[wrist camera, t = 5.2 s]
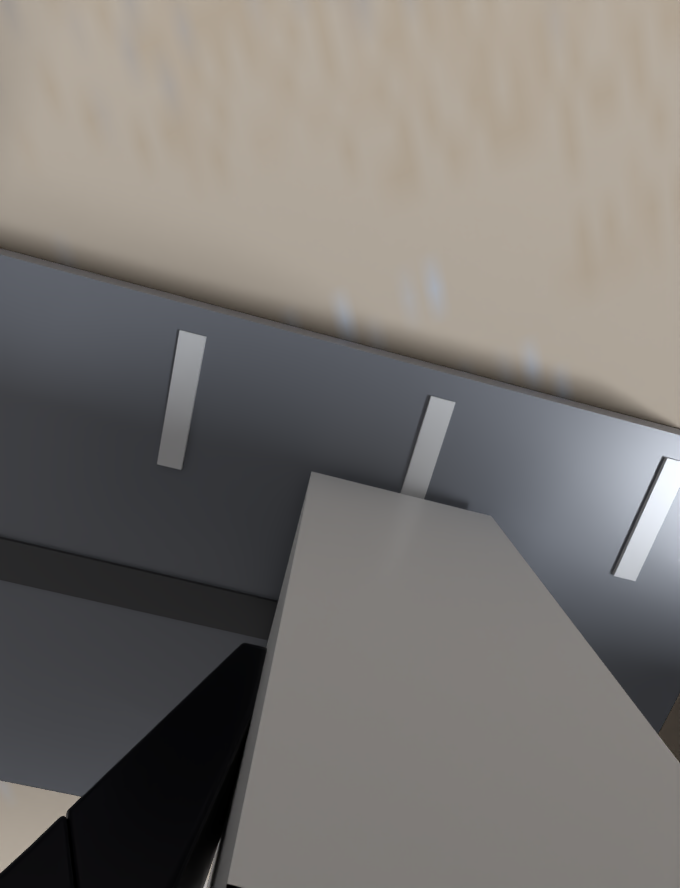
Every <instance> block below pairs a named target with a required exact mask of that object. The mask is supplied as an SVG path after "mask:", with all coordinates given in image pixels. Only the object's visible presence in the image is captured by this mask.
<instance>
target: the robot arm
mask: <svg viewBox="0 0 680 888" xmlns="http://www.w3.org/2000/svg"><path fill="white" fill-rule="evenodd" d="M266 652H267V648H266V647H263V646H258V645H254V644H250V643H242V644H241V645H240V646H238V647H237V648H236V649H235V650H234V651H233V652H232V653H231V654H230V655H229V656H228V657H227V658H226V659H225V660H224V661H223V662H222V663H221V664H220V665H219V666H218V667H217V668H215V669H214V670H213V671H212V672H211V673H210V674H209V675H208V676H207V677H206V678H205V679H204V680H203V681H202V682H201V683H200V684H199V685H198V686H197V687H196V688H195V689H194V690H193V691H191V692H190V693H189V694H188V695H187V696H186V697H185V698H184V699H183V700H182V701H181V702H180V703H179V704H178V705H177V706H176V707H175V708H174V709H173V710H172V711H171V712H170V713H169V714H168V715H166V716H165V717H164V718H163V719H162V720H161V721H160V722H159V723H158V724H157V725H156V726H155V727H154V728H153V729H152V730H151V731H150V732H149V733H148V734H147V735H146V736H145V737H144V738H142V739H141V740H140V741H139V742H138V743H137V744H136V745H135V746H134V747H133V748H132V749H131V750H130V751H129V752H128V753H127V754H126V755H125V756H124V757H123V758H122V759H121V760H120V761H119V762H117V763H116V764H115V765H114V766H113V767H112V768H111V769H110V770H109V771H108V772H107V773H106V774H105V775H104V776H103V777H102V778H101V779H100V780H99V781H98V782H97V783H96V784H95V785H94V786H92V787H91V788H90V789H89V790H88V791H87V792H86V793H85V794H84V795H83V796H82V797H81V798H80V799H79V800H78V801H77V802H76V803H75V804H74V805H73V806H72V807H71V808H70V809H69V810H68V811H67V813H66V817H65V816H62V817H60V818H59V819H58V820H57V821H56V822H54V823H53V824H52V825H51V826H50V827H49V828H48V829H47V830H46V831H45V832H44V833H43V834H42V835H41V836H40V837H39V838H38V839H37V840H36V841H35V842H34V843H33V844H32V845H31V846H30V847H28V848H27V849H26V850H25V851H24V852H23V853H22V854H21V855H20V856H19V857H18V858H16V859H15V860H14V861H13V862H12V863H11V864H10V865H9V866H8V867H7V868H6V869H4V870H3V871H2V872H1V873H0V888H203V887H204V884H205V881H206V878H207V875H208V873H209V870H210V867H211V864H212V861H213V858H214V855H215V853H216V850H217V847H218V844H219V841H220V838H221V835H222V831H223V827H224V823H225V819H226V816H227V812H228V808H229V804H230V800H231V796H232V792H233V789H234V785H235V781H236V777H237V773H238V769H239V765H240V761H241V758H242V754H243V750H244V746H245V742H246V738H247V734H248V731H249V727H250V723H251V719H252V715H253V710H254V706H255V701H256V697H257V692H258V688H259V683H260V679H261V674H262V670H263V665H264V661H265V656H266Z"/></svg>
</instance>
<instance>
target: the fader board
mask: <svg viewBox="0 0 680 888" xmlns="http://www.w3.org/2000/svg"><path fill="white" fill-rule="evenodd" d="M311 472H316V473H320V474H324V475H328V476H332V477H336V478H340V479H344V480H348V481H352V482H356V483H360V484H364V485H368V486H373V487H377V488H381V489H385V490H389V491H393V492H397V493H401V494H405V495H409V496H413V497H417V498H421V499H425V500H429V501H433V502H437V503H441V504H445V505H449V506H453V507H457V508H461V509H465V510H469V511H473V512H477V513H481V514H485V515H489V516H492V518H493V519H494V520H495V522H496V523H497V524H498V526H499V527H500V528H501V530H502V531H503V532H504V533H505V535H506V536H507V537H508V539H509V540H510V541H511V543H512V544H513V545H514V547H515V548H516V549H517V550H518V552H519V553H520V554H521V556H522V557H523V558H524V560H525V561H526V562H527V564H528V565H529V566H530V568H531V569H532V570H533V571H534V573H535V574H536V575H537V577H538V578H539V579H540V581H541V582H542V583H543V585H544V586H545V587H546V588H547V590H548V591H549V592H550V594H551V595H552V596H553V598H554V599H555V600H556V602H557V603H558V604H559V606H560V607H561V608H562V609H563V611H564V612H565V613H566V615H567V616H568V617H569V619H570V620H571V621H572V623H573V624H574V625H575V627H576V628H577V629H578V630H579V632H580V633H581V634H582V636H583V637H584V638H585V640H586V641H587V642H588V644H589V645H590V646H591V647H592V649H593V650H594V651H595V653H596V654H597V655H598V657H599V658H600V659H601V661H602V662H603V663H604V665H605V666H606V667H607V668H608V670H609V671H610V672H611V674H612V675H613V676H614V678H615V679H616V680H617V682H618V683H619V684H620V686H621V687H622V688H623V689H624V691H625V692H626V693H627V695H628V696H629V697H630V699H631V700H632V701H633V703H634V704H635V705H636V706H637V708H638V709H639V710H640V712H641V713H642V714H643V716H644V717H645V718H646V720H647V721H648V722H649V724H650V725H651V726H652V727H653V729H654V730H655V731H656V733H657V734H658V733H659V731H660V729H661V727H662V726H663V724H664V722H665V720H666V718H667V716H668V714H669V712H670V711H671V709H672V707H673V705H674V703H675V701H676V699H677V697H678V695H679V694H680V429H677V428H673V427H669V426H665V425H662V424H658V423H654V422H650V421H647V420H643V419H639V418H635V417H632V416H628V415H624V414H620V413H617V412H613V411H609V410H605V409H602V408H598V407H594V406H590V405H587V404H583V403H579V402H575V401H572V400H568V399H564V398H560V397H557V396H553V395H549V394H546V393H542V392H538V391H534V390H531V389H527V388H523V387H519V386H516V385H512V384H508V383H504V382H501V381H497V380H493V379H489V378H486V377H482V376H478V375H474V374H471V373H467V372H463V371H459V370H456V369H452V368H448V367H444V366H441V365H437V364H433V363H429V362H426V361H422V360H418V359H414V358H411V357H407V356H403V355H399V354H396V353H392V352H388V351H384V350H381V349H377V348H373V347H369V346H366V345H362V344H358V343H354V342H351V341H347V340H343V339H339V338H336V337H332V336H328V335H324V334H321V333H317V332H313V331H309V330H306V329H302V328H298V327H294V326H291V325H287V324H283V323H279V322H276V321H272V320H268V319H264V318H261V317H257V316H253V315H249V314H246V313H242V312H238V311H234V310H231V309H227V308H223V307H219V306H216V305H212V304H208V303H204V302H201V301H197V300H193V299H189V298H186V297H182V296H178V295H174V294H171V293H167V292H163V291H159V290H156V289H152V288H148V287H144V286H141V285H137V284H133V283H129V282H126V281H122V280H118V279H114V278H111V277H107V276H103V275H99V274H96V273H92V272H88V271H84V270H81V269H77V268H73V267H69V266H66V265H62V264H58V263H54V262H51V261H47V260H43V259H39V258H36V257H32V256H28V255H24V254H21V253H17V252H13V251H9V250H6V249H2V248H0V780H1V781H6V782H11V783H16V784H21V785H26V786H31V787H36V788H41V789H46V790H51V791H56V792H61V793H66V794H71V795H76V796H81V797H82V796H83V795H84V794H85V793H86V792H87V791H88V790H89V789H90V788H91V787H92V786H94V785H95V784H96V783H97V782H98V781H99V780H100V779H101V778H102V777H103V776H104V775H105V774H106V773H107V772H108V771H109V770H110V769H111V768H112V767H113V766H114V765H115V764H116V763H117V762H119V761H120V760H121V759H122V758H123V757H124V756H125V755H126V754H127V753H128V752H129V751H130V750H131V749H132V748H133V747H134V746H135V745H136V744H137V743H138V742H139V741H140V740H141V739H142V738H144V737H145V736H146V735H147V734H148V733H149V732H150V731H151V730H152V729H153V728H154V727H155V726H156V725H157V724H158V723H159V722H160V721H161V720H162V719H163V718H164V717H165V716H166V715H168V714H169V713H170V712H171V711H172V710H173V709H174V708H175V707H176V706H177V705H178V704H179V703H180V702H181V701H182V700H183V699H184V698H185V697H186V696H187V695H188V694H189V693H190V692H191V691H193V690H194V689H195V688H196V687H197V686H198V685H199V684H200V683H201V682H202V681H203V680H204V679H205V678H206V677H207V676H208V675H209V674H210V673H211V672H212V671H213V670H214V669H215V668H217V667H218V666H219V665H220V664H221V663H222V662H223V661H224V660H225V659H226V658H227V657H228V656H229V655H230V654H231V653H232V652H233V651H234V650H235V649H236V648H237V647H238V646H240V645H241V644H242V643H250V644H254V645H258V646H263V647H267V643H268V639H269V635H270V631H271V627H272V623H273V619H274V615H275V612H276V608H277V604H278V600H279V596H280V592H281V588H282V584H283V580H284V577H285V573H286V569H287V565H288V561H289V557H290V553H291V549H292V545H293V542H294V538H295V534H296V530H297V526H298V522H299V518H300V514H301V510H302V507H303V503H304V499H305V495H306V491H307V487H308V483H309V479H310V475H311Z"/></svg>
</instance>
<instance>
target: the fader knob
mask: <svg viewBox="0 0 680 888" xmlns="http://www.w3.org/2000/svg"><path fill="white" fill-rule="evenodd" d="M266 648H267V652H266V656H265V661H264V665H263V670H262V674H261V679H260V683H259V688H258V692H257V697H256V701H255V706H254V710H253V715H252V719H251V723H250V727H249V731H248V734H247V738H246V742H245V746H244V750H243V754H242V758H241V761H240V765H239V769H238V773H237V777H236V781H235V785H234V789H233V792H232V796H231V800H230V804H229V808H228V812H227V816H226V819H225V823H224V827H223V831H222V835H221V838H220V841H219V844H218V847H217V850H216V853H215V855H214V859H213V863H212V868H211V872H210V876H209V880H208V884H207V888H680V763H679V762H678V760H677V759H676V758H675V756H674V755H673V754H672V752H671V751H670V750H669V748H668V747H667V746H666V745H665V743H664V742H663V741H662V739H661V738H660V737H659V735H658V734H657V733H656V731H655V730H654V729H653V727H652V726H651V725H650V724H649V722H648V721H647V720H646V718H645V717H644V716H643V714H642V713H641V712H640V710H639V709H638V708H637V706H636V705H635V704H634V703H633V701H632V700H631V699H630V697H629V696H628V695H627V693H626V692H625V691H624V689H623V688H622V687H621V686H620V684H619V683H618V682H617V680H616V679H615V678H614V676H613V675H612V674H611V672H610V671H609V670H608V668H607V667H606V666H605V665H604V663H603V662H602V661H601V659H600V658H599V657H598V655H597V654H596V653H595V651H594V650H593V649H592V647H591V646H590V645H589V644H588V642H587V641H586V640H585V638H584V637H583V636H582V634H581V633H580V632H579V630H578V629H577V628H576V627H575V625H574V624H573V623H572V621H571V620H570V619H569V617H568V616H567V615H566V613H565V612H564V611H563V609H562V608H561V607H560V606H559V604H558V603H557V602H556V600H555V599H554V598H553V596H552V595H551V594H550V592H549V591H548V590H547V588H546V587H545V586H544V585H543V583H542V582H541V581H540V579H539V578H538V577H537V575H536V574H535V573H534V571H533V570H532V569H531V568H530V566H529V565H528V564H527V562H526V561H525V560H524V558H523V557H522V556H521V554H520V553H519V552H518V550H517V549H516V548H515V547H514V545H513V544H512V543H511V541H510V540H509V539H508V537H507V536H506V535H505V533H504V532H503V531H502V530H501V528H500V527H499V526H498V524H497V523H496V522H495V520H494V519H493V518H492V516H489V515H485V514H481V513H477V512H473V511H469V510H465V509H461V508H457V507H453V506H449V505H445V504H441V503H437V502H433V501H429V500H425V499H421V498H417V497H413V496H409V495H405V494H401V493H397V492H393V491H389V490H385V489H381V488H377V487H373V486H368V485H364V484H360V483H356V482H352V481H348V480H344V479H340V478H336V477H332V476H328V475H324V474H320V473H316V472H311V475H310V479H309V483H308V487H307V491H306V495H305V499H304V503H303V507H302V510H301V514H300V518H299V522H298V526H297V530H296V534H295V538H294V542H293V545H292V549H291V553H290V557H289V561H288V565H287V569H286V573H285V577H284V580H283V584H282V588H281V592H280V596H279V600H278V604H277V608H276V612H275V615H274V619H273V623H272V627H271V631H270V635H269V639H268V643H267V647H266Z"/></svg>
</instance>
